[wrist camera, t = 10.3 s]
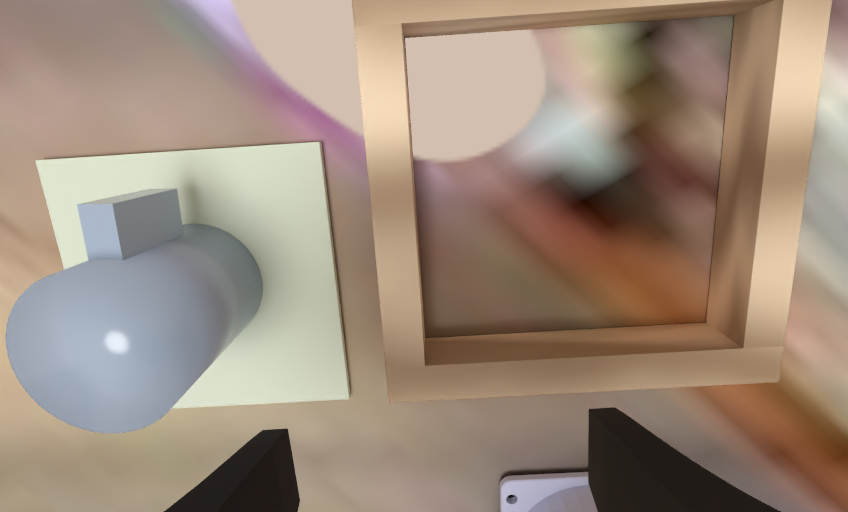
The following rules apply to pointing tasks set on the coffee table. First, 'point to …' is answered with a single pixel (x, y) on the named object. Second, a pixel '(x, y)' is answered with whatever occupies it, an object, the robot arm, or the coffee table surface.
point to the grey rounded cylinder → (132, 314)
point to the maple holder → (734, 227)
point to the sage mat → (262, 235)
